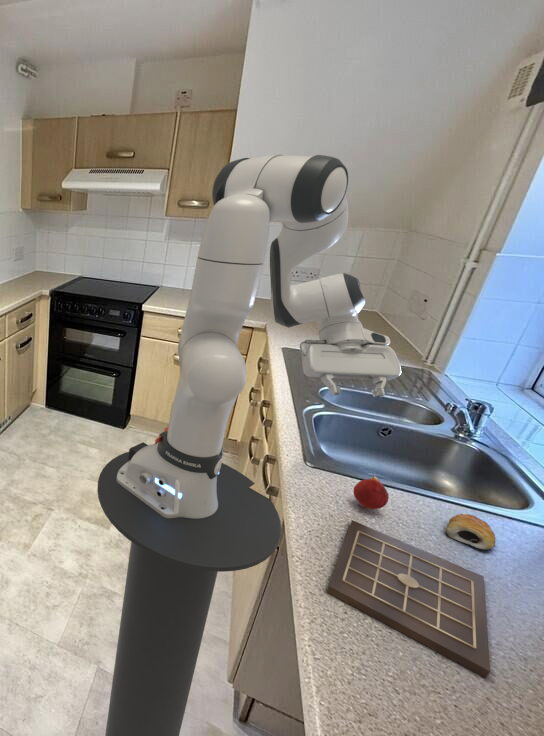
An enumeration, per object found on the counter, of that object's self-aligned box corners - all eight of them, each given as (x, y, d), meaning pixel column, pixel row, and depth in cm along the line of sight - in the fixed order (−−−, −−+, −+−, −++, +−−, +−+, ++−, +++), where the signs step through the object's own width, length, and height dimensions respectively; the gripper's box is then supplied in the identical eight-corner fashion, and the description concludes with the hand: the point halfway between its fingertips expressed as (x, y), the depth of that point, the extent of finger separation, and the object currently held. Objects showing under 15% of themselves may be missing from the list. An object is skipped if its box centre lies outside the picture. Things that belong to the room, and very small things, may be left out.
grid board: (327, 592, 70) (329, 585, 70) (349, 525, 85) (352, 519, 85) (485, 678, 58) (490, 670, 57) (480, 582, 73) (484, 575, 72)
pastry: (450, 515, 89) (457, 500, 87) (495, 534, 84) (504, 519, 82) (442, 535, 83) (449, 520, 82) (490, 557, 78) (499, 541, 77)
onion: (386, 510, 90) (398, 480, 87) (376, 521, 87) (388, 490, 84) (355, 495, 94) (365, 466, 91) (344, 505, 91) (355, 475, 88)
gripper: (305, 333, 98) (318, 388, 92) (396, 337, 97) (415, 393, 91) (291, 345, 104) (302, 397, 98) (377, 348, 102) (393, 401, 97)
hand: (357, 395), depth 94 cm, fingers open, 8 cm apart
